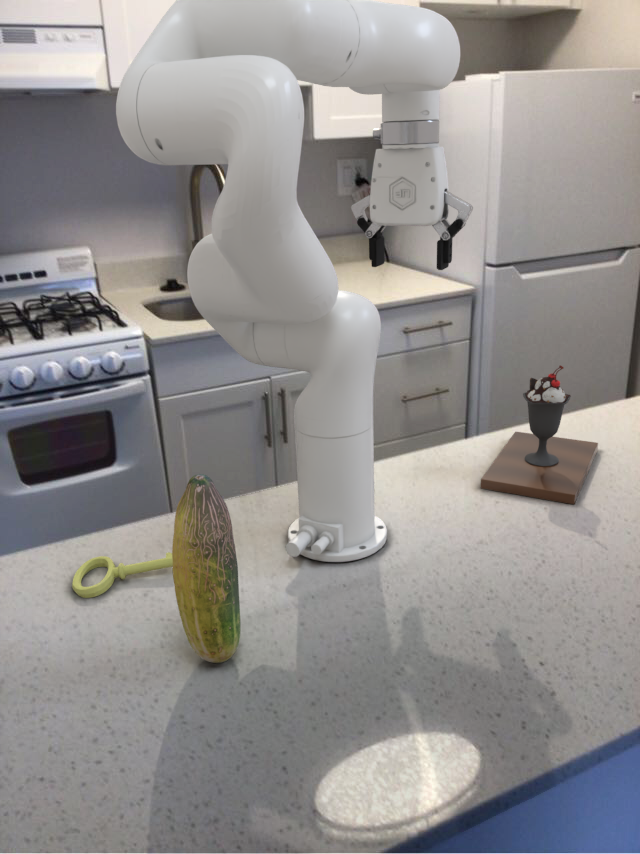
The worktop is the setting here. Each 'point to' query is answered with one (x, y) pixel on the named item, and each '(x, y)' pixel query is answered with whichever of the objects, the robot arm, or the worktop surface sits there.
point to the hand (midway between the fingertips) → (409, 267)
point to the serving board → (541, 468)
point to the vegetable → (206, 571)
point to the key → (113, 573)
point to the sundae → (545, 415)
